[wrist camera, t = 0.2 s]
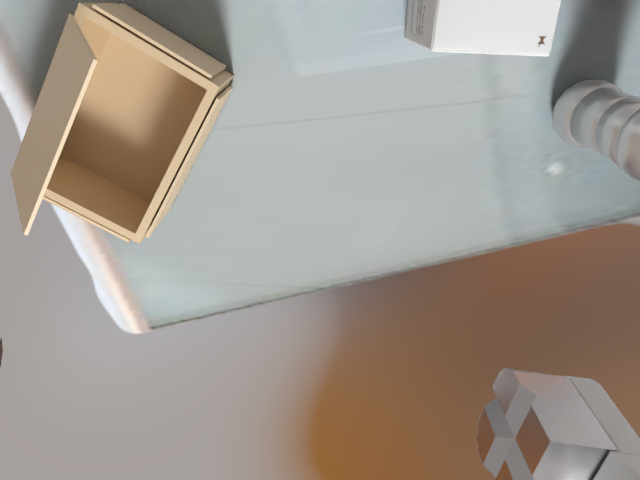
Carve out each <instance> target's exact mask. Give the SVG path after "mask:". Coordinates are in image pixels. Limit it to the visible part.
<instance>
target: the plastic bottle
mask: <svg viewBox="0 0 640 480" xmlns="http://www.w3.org/2000/svg"><path fill="white" fill-rule="evenodd" d="M552 121H553V126H554V129H555V131H556V132H557V134H558V135H559V136H560V137H561V139H563V140H564V141H565V142H566V143H568V144H570V145H573V146H577V147H581V148H589V149H592V150H595V151H598V152H600V153H602V154H603V155H605V156H606V157H608V158H609V159H611V160H612V161H613V162H614V163H616V164H617V165H618V166H619V167H620V168H621V169H622V170H623V171H624V172H625V173H626V174H628V175H629V176H631V177H632V178H634V179H636V180H638V181H640V97H636V96H632V95H630V94H628V93H626V92H623V91H622V90H621V89H620V88H618V87H617V86H615V85H613V84H611V83H610V82H608V81H605V80H597V79H594V80H585V81H581V82H578V83H576V84H574V85H572V86H570V87H569V88H568V89H567V90H565V91H564V92H563V94H562V95H561V96H560V97H559V99H558V100H557V102H556V104H555V107H554V110H553V116H552Z"/></svg>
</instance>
